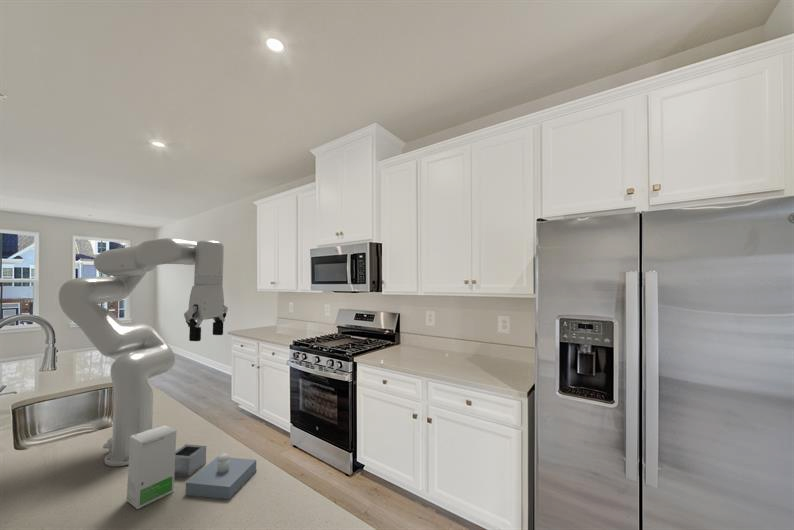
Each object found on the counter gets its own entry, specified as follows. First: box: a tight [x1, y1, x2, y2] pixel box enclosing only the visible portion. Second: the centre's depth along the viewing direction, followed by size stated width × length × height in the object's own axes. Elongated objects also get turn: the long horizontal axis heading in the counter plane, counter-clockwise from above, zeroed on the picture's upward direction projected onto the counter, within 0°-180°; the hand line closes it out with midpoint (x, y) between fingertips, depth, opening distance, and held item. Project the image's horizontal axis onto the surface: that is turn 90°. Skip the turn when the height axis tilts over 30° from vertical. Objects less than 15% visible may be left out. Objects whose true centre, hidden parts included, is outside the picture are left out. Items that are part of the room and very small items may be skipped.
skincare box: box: [126, 425, 177, 510], centre depth 82 cm, size 8×7×16 cm
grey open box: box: [174, 443, 207, 478], centre depth 93 cm, size 7×7×5 cm
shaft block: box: [185, 452, 257, 500], centre depth 87 cm, size 12×12×7 cm
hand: (206, 337), depth 98 cm, fingers open, 9 cm apart
